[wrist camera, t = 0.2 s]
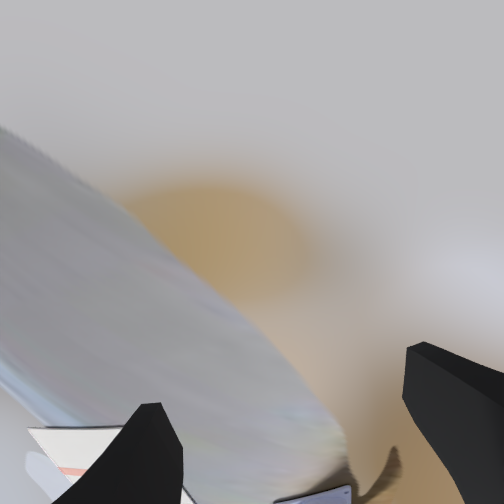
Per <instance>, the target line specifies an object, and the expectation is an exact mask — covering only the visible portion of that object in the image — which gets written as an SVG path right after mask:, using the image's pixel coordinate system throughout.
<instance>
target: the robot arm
mask: <svg viewBox="0 0 504 504" xmlns="http://www.w3.org/2000/svg"><path fill="white" fill-rule="evenodd" d="M402 398H403V400H404V402H405V404H406V407H407V408H408V411H409V413H410V414H411V416H412V418H413V420H414V422H415V424H416V425H417V427H418V428H419V430H420V431H421V432H422V434H423V435H424V437H425V438H426V440H427V441H428V442H429V444H430V445H431V447H432V448H433V450H434V451H435V452H436V454H437V455H438V457H439V458H440V460H441V461H442V463H443V464H444V466H445V467H446V468H447V470H448V471H449V473H450V475H451V476H452V478H453V480H454V481H455V484H456V485H457V488H458V490H459V492H460V494H461V496H462V498H463V500H464V502H465V504H504V373H502V372H499V371H496V370H493V369H491V368H488V367H485V366H483V365H480V364H478V363H475V362H473V361H470V360H468V359H466V358H463V357H461V356H458V355H456V354H454V353H451V352H449V351H447V350H444V349H442V348H439V347H437V346H434V345H432V344H429V343H427V342H421V343H419V344H416V345H413V346H410V347H407V352H406V366H405V376H404V386H403V394H402ZM182 486H183V447H182V445H181V443H180V441H179V439H178V437H177V435H176V433H175V431H174V429H173V427H172V425H171V423H170V421H169V419H168V417H167V415H166V413H165V411H164V409H163V406H162V404H161V402H160V403H149V404H141V405H140V406H139V408H138V409H137V410H136V411H135V412H134V414H133V415H132V416H131V418H130V419H129V420H128V421H127V423H126V424H125V425H124V427H123V428H122V429H121V431H120V432H119V433H118V434H117V436H116V437H115V438H114V439H113V441H112V442H111V443H110V444H109V446H108V447H107V448H106V449H105V451H104V452H103V453H102V454H101V455H100V456H99V458H98V459H97V460H96V461H95V462H94V463H93V464H92V465H91V466H90V468H89V469H88V470H87V471H86V472H85V473H84V474H83V475H82V476H81V477H80V478H79V479H78V480H77V481H76V482H75V483H74V484H73V485H72V486H71V487H70V488H69V489H68V490H67V491H66V492H65V493H63V494H62V495H61V496H60V497H59V498H58V499H57V500H55V501H54V502H53V503H52V504H181V495H182ZM275 504H351V486H350V485H346V486H343V487H340V488H336V489H333V490H329V491H326V492H322V493H319V494H315V495H311V496H307V497H303V498H298V499H294V500H290V501H285V502H280V503H275Z"/></svg>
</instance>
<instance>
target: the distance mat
mask: <svg viewBox="0 0 504 504" xmlns="http://www.w3.org/2000/svg"><path fill="white" fill-rule="evenodd" d="M122 428H123V427H115V428H80V429H69V428H36V427H27V429H28V430H29V432H30V433H31V435H32V436H33V437H34V439H35V440H36V441H37V443H38V444H39V445H40V446H41V448H42V449H43V450H44V451H45V453H46V454H47V455H48V456H49V458H50V459H51V460H52V461H53V462H54V464H55V465H56V466H57V467H58V468H59V470H60V471H61V472H62V473H63V474H64V475H65V476H66V477H67V478H68V479H69V480H70V482H71V483H72V484H74V483H75V482H76V481H77V480H78V479H79V478H80V477H81V476H82V475H83V474H84V473H85V472H86V471H87V470H88V469H89V468H90V466H91V465H92V464H93V463H94V462H95V461H96V460H97V459H98V458H99V456H100V455H101V454H102V453H103V452H104V451H105V449H106V448H107V447H108V446H109V444H110V443H111V442H112V441H113V439H114V438H115V437H116V436H117V434H118V433H119V432H120V431H121V429H122ZM181 504H195V503H194V502H193V501H192V500H191V498H190V497H189V496H188V494H187V493H186V492H185V490H184V489H183V488H182V495H181Z"/></svg>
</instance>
